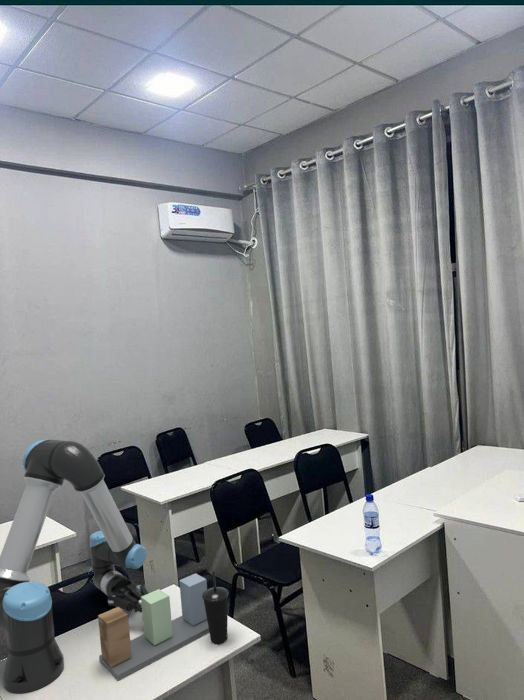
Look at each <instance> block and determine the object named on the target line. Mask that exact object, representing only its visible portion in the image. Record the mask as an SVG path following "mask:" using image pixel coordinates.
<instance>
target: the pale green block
mask: <svg viewBox="0 0 524 700" xmlns="http://www.w3.org/2000/svg"><path fill="white" fill-rule="evenodd" d="M148 593H149V594H146V595H144V596H142V597H141V604H142V612H141V615H142V624H143V625H142V626H143V634H144V637H145V638H146V639H147V640H149V641H150V642H151V643H152V644H153V645H156V644H158V643H160V642H162V641H164V640H166V639H168V638H170V637H172V636H173V632H172V611H171V600H170V599H171V598H170V595H168V594H167V593H166V592H164V591H163V590H161V589H160V588H158V589H156V590H154V591H152V592H151V591H150V592H148Z"/></svg>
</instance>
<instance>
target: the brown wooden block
mask: <svg viewBox="0 0 524 700" xmlns="http://www.w3.org/2000/svg"><path fill="white" fill-rule="evenodd" d="M97 619H98V629H99V639H100V640H99V642H100V651H101V653H100V654H101V655H102V658H103V659H104V660H105V662H106V663H107V664H108V665H109V666H110V667H113V666H115V665H117V664H119V663H121V662H123V661H125V660H127V659H129V658H131V657H132V654H131V643H130V640H131V635H130V623H129V614H128V613H127V611H125V610H123V609H121V608H119V607H115V608H112V609H109V610H108V611H105V612H103V613H99V614H98V615H97Z"/></svg>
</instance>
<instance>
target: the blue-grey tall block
mask: <svg viewBox="0 0 524 700" xmlns="http://www.w3.org/2000/svg"><path fill="white" fill-rule="evenodd" d="M207 581H208V580H207V578H205V577H203V576H201V575H199V574H198V573H192V574H191V575H188V576H186V577H184V578H181V579H180V580H178V582H179V591H180V594H179V595H180V603H181V604H180V605H181V616H182V618H183V619H184V620H186V621H187V622H188V623H190V624H191V625H193V626H194V625H196V624H198V623H200V622H202V621H204V620H206V619H207V616H206V610H205V605H204V600H203V598H202V594H203V592H204V591H206V590H208V584H207V583H208V582H207Z"/></svg>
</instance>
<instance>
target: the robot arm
mask: <svg viewBox="0 0 524 700" xmlns="http://www.w3.org/2000/svg"><path fill="white" fill-rule="evenodd" d="M22 466H23V469H24V471H25V473H24V476H23V480H24V482H25V484H26V485H25V487H24V491H23V492H22V493H23V494H22V497H21V498H20V502H19V504H18V507H17V510H16V512H15V515H14V518H13V521H12V523H11V526H10V528H9V531H8V534H7V537H6V540H5V542H4V545H3V548H2V550H1V552H0V633H3V634H4V635H5V636H6V644H7V653H8V654H7V658H6V662H5V667H4V669H3V677H2V678H3V686H4V688H5V689H6V691H8V692H10V693H16V694H24V693H29V692H33V691H36V690H39V689H41V688H43V687H46V686H48V685H49V684H51V683H52V682H53V681H55V680H56V679H57V678H58V677H59V676H61V674H62V672H63V670H64V669H65V659H64V654H63V652H62V650H61V649H60V646H59V644H58V643H57V641H56V638H55V625H54V619H53V618H54V617H53V616H54V615H53V605H52V604H53V600H52V599H53V598H52V596H51V595H52V594H51V591H50V587H48V586H47V585H46V584H45V583H42V582H40V581H31V582H30V578H29V576H28V569H29V567H30V564H31V561H32V558H33V556H34V552H35V550H36V547H37V544H38V542H39V539H40V535H41V533H42V529H43V526H44V523H45V521H46V519H47V516H48V512H49V509H50V507H51V503H52V501H53V497H54V495H55V493H56V491H58V490H59V489H61V488H62V486H63V484H64V481H67V482H68V483H70V484H71V485H72V487H73V489H74V490H75V492H77V493H80V494H81V496H82V498H83V500H84V501H85V503H86V506H87V507H88V509H89V510H90V512H91V515H92V516H93V518H94V520H95V522H96V524H97V525H98V528H99V530H98V531H96V532H93V533H91V535H90V536H89V553H90V560H91V562H90V563H91V566H90V568H89V571H88V573H89V572H90V571H92V572H94V576H93V578H92V580H93V583H94V585H95V586H96V588H97V589H99V590H100V591H101V592H102V593H104V594H105V595H106V596H107V603H108V606H110V607H115V608H116V607H119V608H121V609H122V610H123V611H125V612H130V613H131V612H132V611H133V610H134V613H138V612H139V613H142V604H141V597H142V596H144V595H146V594H149V593H150V592H148V590H147V588H146V586H145V582H141V583H140V584H139V585H137V584H135V583H132V582H131V580H130V579H129V578H127V577H126V576H124V575H123V574H122V573H120V572H119V571H117V570H116V567H114V566H115V565H117V566H120V567H124V568H127V569H135V570H137V569H140V567H142V566H143V565H144V564H145V561H146V559H147V549H146V548H145V546H144V545H141V544H140V543H136V541H135V539H134V537H133V536H132V533H131V532H130V530H129V527H128V526H127V524H126V522H125V519H124V518H123V515H122V514H121V512H120V510H119V508H118V506H117V504H116V502H115V501H114V497H113V496H112V494H111V492H110V490H109V488H108V486H107V484H106V482H105V479H104V478H105V476H106V475H105V472H104V470H103V468H102V467H101V465H100V463H99V461H98V460H97V458H95V456H94V455H93V453H92V452H91V451H90V450H89V449H88V448H87V447H86V446H85V445H84V444H81V443H79V442H77V441H74V440H73V441H72V440H60V439H53V438H52V439H49V438H48V439H42V440H41V439H40V440H38V441H35V442H34V443H32V444H31V445H30V446H29V447H28V448H27V450H26V451H25V453H24V455H23V458H22ZM93 570H94V571H93ZM93 583H92V584H93ZM94 585H93V586H94ZM95 586H94V587H95Z"/></svg>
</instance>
